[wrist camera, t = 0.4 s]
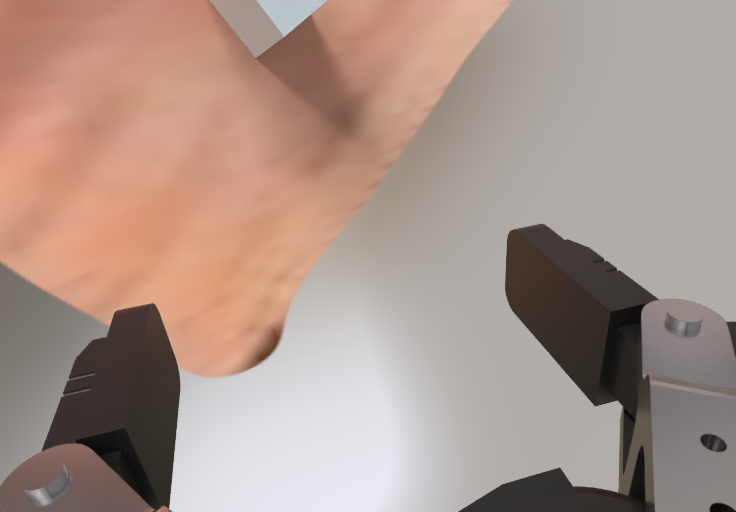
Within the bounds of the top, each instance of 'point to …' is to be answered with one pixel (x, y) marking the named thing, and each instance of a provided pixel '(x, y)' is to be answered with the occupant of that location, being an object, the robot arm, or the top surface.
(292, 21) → the block
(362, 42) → the top surface
